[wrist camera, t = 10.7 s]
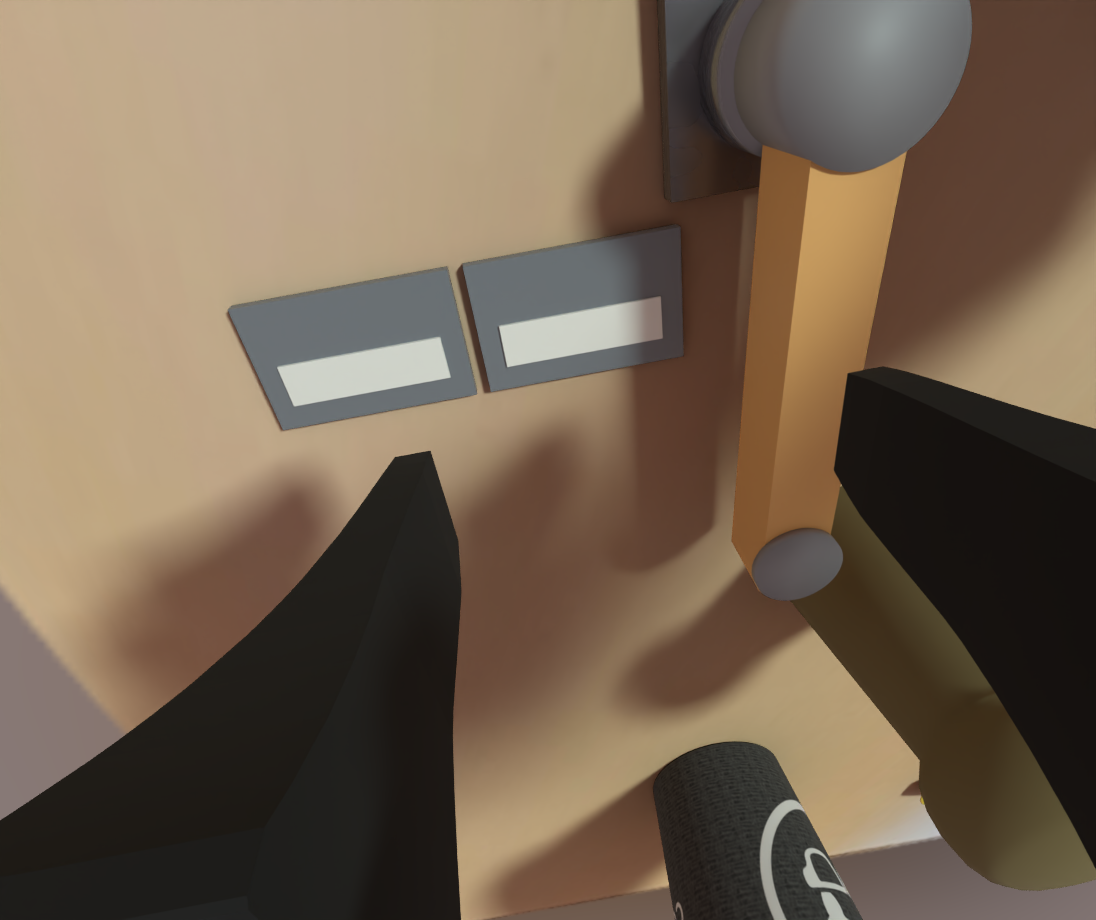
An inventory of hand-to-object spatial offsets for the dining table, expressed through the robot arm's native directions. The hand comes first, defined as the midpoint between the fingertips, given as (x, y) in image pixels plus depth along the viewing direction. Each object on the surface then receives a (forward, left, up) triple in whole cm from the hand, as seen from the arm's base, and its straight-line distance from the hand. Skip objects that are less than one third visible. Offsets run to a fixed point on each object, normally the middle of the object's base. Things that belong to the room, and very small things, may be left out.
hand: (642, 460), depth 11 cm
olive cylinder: (-9, +11, -8) cm, 16 cm away
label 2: (0, 0, -7) cm, 7 cm away
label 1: (+6, 0, -7) cm, 10 cm away
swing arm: (-5, +1, -5) cm, 7 cm away
